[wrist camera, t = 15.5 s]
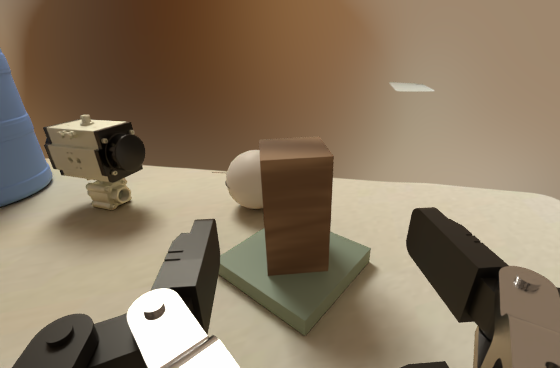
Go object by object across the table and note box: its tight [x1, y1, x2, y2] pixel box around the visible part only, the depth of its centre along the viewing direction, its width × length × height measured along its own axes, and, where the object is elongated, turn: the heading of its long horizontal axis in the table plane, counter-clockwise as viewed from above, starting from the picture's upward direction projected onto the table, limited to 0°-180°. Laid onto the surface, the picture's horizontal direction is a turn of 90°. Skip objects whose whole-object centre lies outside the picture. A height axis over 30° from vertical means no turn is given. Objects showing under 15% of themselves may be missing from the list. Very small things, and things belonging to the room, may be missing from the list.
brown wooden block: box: [259, 137, 334, 276], centre depth 24 cm, size 5×5×10 cm
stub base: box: [218, 228, 371, 336], centre depth 25 cm, size 10×10×8 cm
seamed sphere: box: [212, 150, 263, 209], centre depth 36 cm, size 10×7×7 cm
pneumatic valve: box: [43, 115, 145, 210], centre depth 36 cm, size 6×12×12 cm, turn 70°
